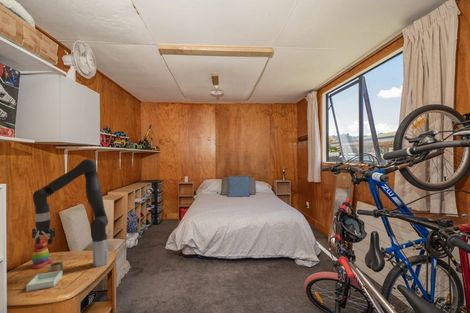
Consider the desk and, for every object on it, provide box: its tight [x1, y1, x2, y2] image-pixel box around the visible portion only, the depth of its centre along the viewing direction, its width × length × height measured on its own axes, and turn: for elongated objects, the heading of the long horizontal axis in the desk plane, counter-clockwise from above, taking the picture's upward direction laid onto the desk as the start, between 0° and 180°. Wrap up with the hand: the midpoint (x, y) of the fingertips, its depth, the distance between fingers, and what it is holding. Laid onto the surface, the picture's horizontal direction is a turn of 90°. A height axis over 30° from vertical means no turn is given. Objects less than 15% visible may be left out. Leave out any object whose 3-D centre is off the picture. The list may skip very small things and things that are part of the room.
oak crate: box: [47, 261, 64, 273], centre depth 148 cm, size 6×6×6 cm
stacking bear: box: [31, 238, 54, 270], centre depth 160 cm, size 11×10×18 cm
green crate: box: [25, 270, 64, 293], centre depth 136 cm, size 13×13×4 cm
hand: (44, 244), depth 147 cm, fingers open, 8 cm apart
